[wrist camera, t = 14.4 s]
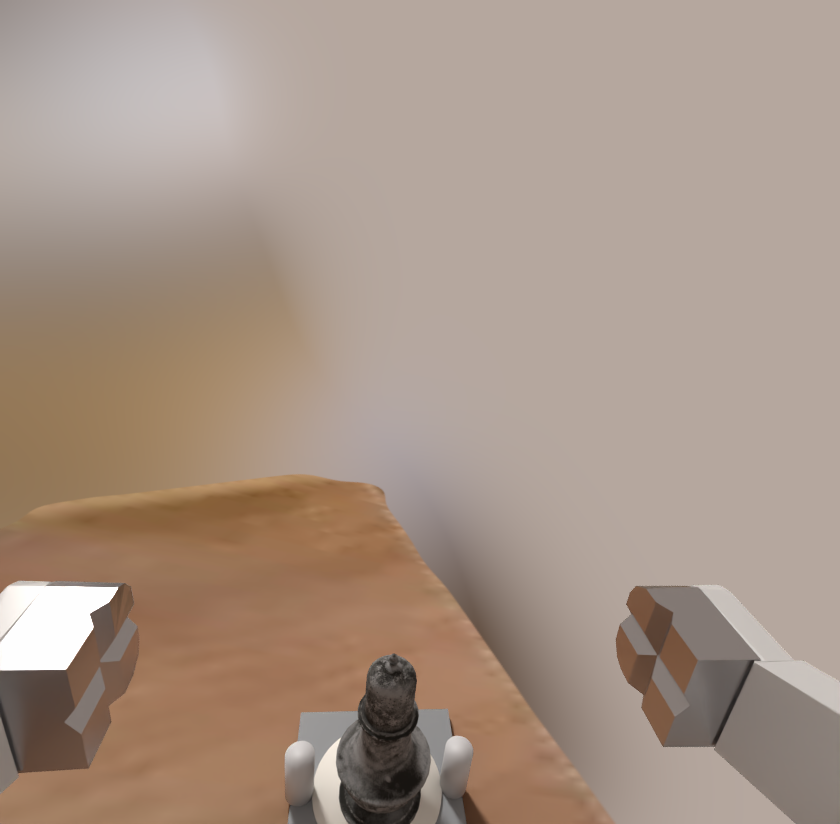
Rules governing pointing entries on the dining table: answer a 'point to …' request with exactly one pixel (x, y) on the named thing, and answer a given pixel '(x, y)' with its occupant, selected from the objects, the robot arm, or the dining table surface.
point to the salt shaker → (384, 749)
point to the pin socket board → (319, 782)
